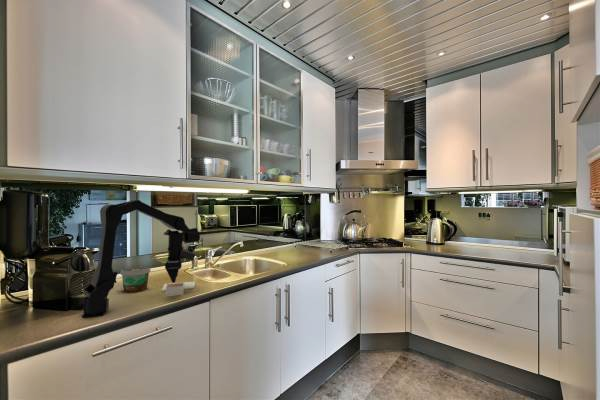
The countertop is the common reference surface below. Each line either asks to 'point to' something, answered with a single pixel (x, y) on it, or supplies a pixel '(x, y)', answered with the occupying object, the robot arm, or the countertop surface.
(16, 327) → the countertop surface
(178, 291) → the card deck
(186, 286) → the sage mat
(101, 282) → the robot arm
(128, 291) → the food container
